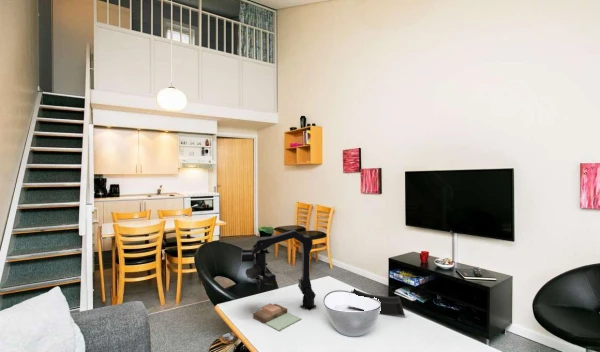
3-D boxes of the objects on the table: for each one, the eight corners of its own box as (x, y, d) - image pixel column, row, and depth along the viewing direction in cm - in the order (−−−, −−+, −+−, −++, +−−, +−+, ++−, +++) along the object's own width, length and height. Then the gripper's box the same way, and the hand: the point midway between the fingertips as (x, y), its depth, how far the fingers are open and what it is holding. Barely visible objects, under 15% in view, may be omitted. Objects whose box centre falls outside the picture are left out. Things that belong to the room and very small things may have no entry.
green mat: (287, 313, 161) (287, 312, 161) (301, 319, 155) (301, 318, 155) (265, 324, 149) (265, 323, 149) (279, 331, 143) (279, 330, 143)
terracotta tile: (270, 307, 163) (270, 303, 163) (280, 311, 158) (280, 307, 158) (261, 310, 159) (261, 306, 159) (272, 315, 153) (272, 311, 153)
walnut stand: (275, 308, 168) (275, 303, 168) (287, 313, 162) (287, 308, 162) (252, 318, 156) (253, 313, 156) (264, 324, 150) (264, 319, 150)
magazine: (409, 299, 161) (355, 276, 170) (409, 301, 158) (354, 278, 167) (398, 328, 163) (345, 304, 172) (398, 331, 160) (344, 306, 169)
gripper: (237, 260, 164) (237, 289, 164) (260, 268, 152) (260, 299, 152) (253, 257, 173) (253, 284, 173) (276, 263, 160) (276, 293, 160)
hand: (260, 290), depth 164 cm, fingers closed
